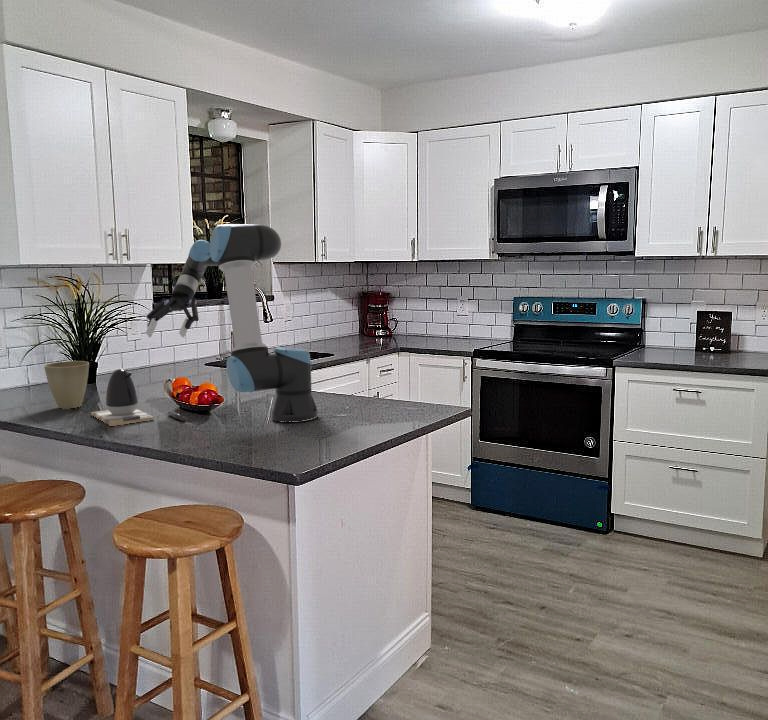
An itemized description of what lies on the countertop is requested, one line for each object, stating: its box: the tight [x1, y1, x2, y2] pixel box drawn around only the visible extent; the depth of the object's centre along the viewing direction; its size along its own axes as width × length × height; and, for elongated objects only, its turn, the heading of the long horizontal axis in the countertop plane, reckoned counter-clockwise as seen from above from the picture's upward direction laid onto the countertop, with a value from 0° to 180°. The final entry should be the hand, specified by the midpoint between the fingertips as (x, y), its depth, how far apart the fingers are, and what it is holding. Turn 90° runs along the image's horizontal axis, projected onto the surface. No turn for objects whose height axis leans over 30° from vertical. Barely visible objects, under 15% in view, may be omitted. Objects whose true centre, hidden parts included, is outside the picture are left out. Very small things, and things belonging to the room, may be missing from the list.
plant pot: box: [43, 360, 90, 410], centre depth 267 cm, size 15×15×16 cm
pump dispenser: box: [105, 368, 139, 416], centre depth 247 cm, size 10×10×15 cm
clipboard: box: [90, 408, 155, 427], centre depth 249 cm, size 22×14×2 cm, turn 36°
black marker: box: [167, 410, 187, 422], centre depth 246 cm, size 14×2×2 cm, turn 36°
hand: (164, 335), depth 263 cm, fingers open, 13 cm apart
